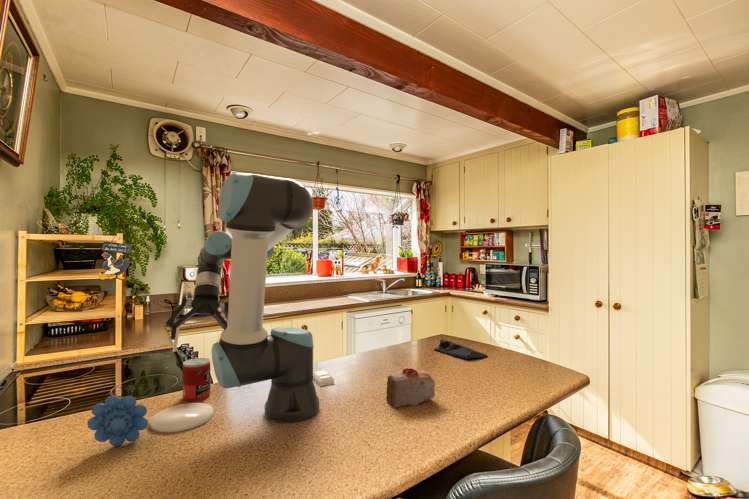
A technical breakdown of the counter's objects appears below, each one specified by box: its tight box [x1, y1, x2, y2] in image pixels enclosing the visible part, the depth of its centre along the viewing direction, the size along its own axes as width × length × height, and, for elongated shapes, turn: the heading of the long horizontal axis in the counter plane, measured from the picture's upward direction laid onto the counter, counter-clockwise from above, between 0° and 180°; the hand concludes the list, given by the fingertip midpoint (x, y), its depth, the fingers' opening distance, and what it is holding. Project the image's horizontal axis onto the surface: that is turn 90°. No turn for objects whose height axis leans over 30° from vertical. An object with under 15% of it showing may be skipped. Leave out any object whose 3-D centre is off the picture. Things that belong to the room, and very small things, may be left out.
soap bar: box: [313, 370, 335, 387], centre depth 126 cm, size 5×9×3 cm, turn 28°
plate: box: [149, 402, 214, 434], centre depth 97 cm, size 15×15×1 cm
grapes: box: [86, 394, 149, 447], centre depth 83 cm, size 12×7×12 cm, turn 122°
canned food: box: [182, 357, 211, 402], centre depth 113 cm, size 8×8×11 cm
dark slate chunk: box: [433, 338, 489, 360], centre depth 160 cm, size 15×22×5 cm
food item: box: [385, 367, 436, 409], centre depth 108 cm, size 14×8×10 cm, turn 115°
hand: (199, 351), depth 108 cm, fingers open, 13 cm apart
